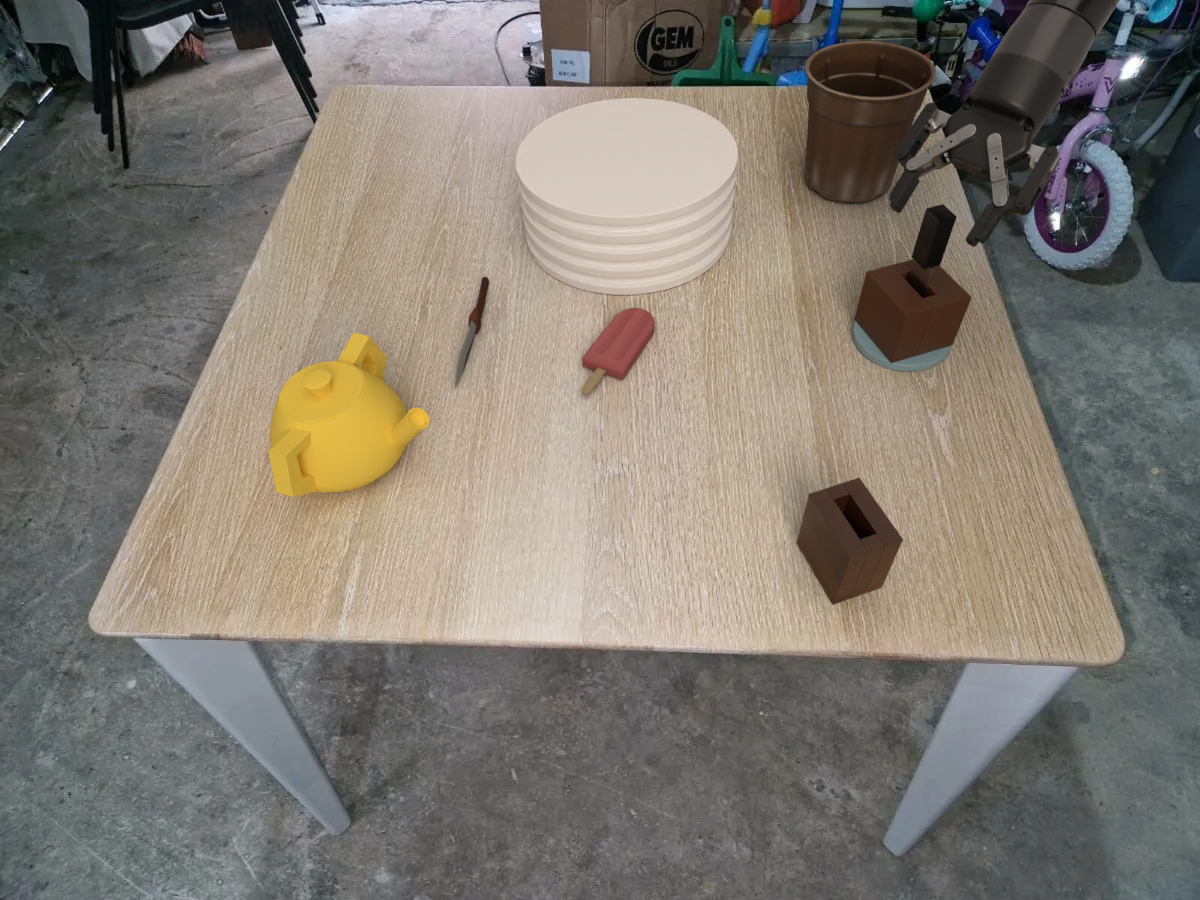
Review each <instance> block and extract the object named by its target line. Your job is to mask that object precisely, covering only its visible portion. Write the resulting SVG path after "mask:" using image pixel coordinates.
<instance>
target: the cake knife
mask: <svg viewBox="0 0 1200 900" xmlns="http://www.w3.org/2000/svg"><path fill="white" fill-rule="evenodd" d="M922 217H923V218H922V220H921V224H920V227H919V230H918V233H917V237H916V241H915V242H914V243H915V244H914V246H913V250H912V253H911V258H912V259H914V263H913V266H912V270H911V273H910V276H909V279H908V283H909V284H910V285H911V286H912V287H913V288H914V289H915V290H916V292H917V293H918V294H919V295H920V296H921V297H922V298H925V297H926V294H927V291H928V288H929V285H930V282H931V279H932V276H933V273H934V270H935V269H934V268H933V267H935V266H939V265H940V266H941V264H942V261H943V259H944V255H945V253H946V250H947V247H948V244H949V241H950V237H951V234H952V232H953V229H954V227H955V223H956V221H957V215H956V214H955V213H954V212H953V211H951V210H950V209H949V208H948V207H947V206H946V205H945V204H943V203H942V204H937V205H934V206H930V207H926V208H925V211H924V214H923V216H922Z"/></svg>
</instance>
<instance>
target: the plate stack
mask: <svg viewBox="0 0 1200 900" xmlns="http://www.w3.org/2000/svg"><path fill="white" fill-rule="evenodd" d="M738 159H739V150H738V144H737V142H736V140H735V138H734V136H733V134H732V133H731V131H730V130H729V129H728V128H727V127H726V125H724V124H723V123H722V122H721V121H719V120H718V119H717V118H715V117H714V116H712V115H710V114H708V113H707V112H705V111H703V110H700V109H698V108H696V107H692V106H689V105H687V104H684V103H679V102H676V101H671V100H666V99H665V100H664V99H657V98H646V97H626V98H625V97H623V98H611V99H603V100H596V101H592V102H587V103H584V104H580V105H577V106H573V107H570V108H568V109H565V110H562V111H560V112H557V113H556V114H553V115H552V116H550V117H548V118H546V119H544V120H543V121H541V122H540V123H539V124H537V125H535V126H534V127H533V128H532V129H531V130H530V131H529V132H528V133H527V134H526V135H525V136H524V137H523V139H522V140H521V142H520V144H519V146H518V148H517V151H516V154H515V171H516V176H517V185H518V191H519V197H520V205H521V211H522V218H523V219H522V220H523V226H524V230H525V231H524V232H525V239H526V245H527V250H528V252H529V254H530V256H531V257H532V259H533V260H534V262H535V263H536V264H537V265H538V266H539V267H540V269H541V270H543V271H544V272H545V273H546V274H548V275H549V276H550V277H552V278H554V279H555V280H557V281H558V282H561V283H563V284H565V285H567V286H570V287H573V288H575V289H579V290H582V291H586V292H591V293H595V294H603V295H612V296H613V295H614V296H630V295H631V296H633V295H634V296H635V295H647V294H652V293H656V292H662V291H666V290H669V289H673V288H677V287H679V286H682V285H683V284H687V283H688V282H691V281H692V280H695V279H697V278H699V277H700V276H702V275H703V274H705V273H706V272H707V271H709V270H710V269H712V267H714V266H715V265H716V264H717V263H718V262H719V261H720V259H721V258H722V257H723V256H724V254H725V252H726V250H727V249H728V246H729V244H730V241H731V236H732V225H733V215H734V203H735V194H736V190H735V188H736V181H737V168H738V162H739V160H738Z"/></svg>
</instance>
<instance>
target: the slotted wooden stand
mask: <svg viewBox="0 0 1200 900" xmlns="http://www.w3.org/2000/svg"><path fill="white" fill-rule="evenodd" d="M913 263H914V259H913V258H912V259H908V260H905V261H901V262H897V263H893V264H890V265H886V266H883V267H879V268H875V269H872V270H868V271H866V272H865V276H864V280H863V283H862V287H861V291H860V295H859V299H858V301H857V302H858V303H857V306H856V311H855V314H854V318H853V320H854V322H853V326H852V330H851V337H852V338H851V339H852V341H853V344H854V345H855V348H856V349H857V351H858V352H859V353H860V354H861V355H862V356H863V357H865V358H866V359H867V360H869V361H870V362H871V363H873V364H876V365H878V366H880V367H882V368H886V369H888V370H893V371H896V372H897V371H898V372H910V373H911V372H923V371H926V370H929V369H932V368H934V367H936V366H938V365H939V364H941V363H942V362H943V361H944V360H945V359H946V358H947V357H948V355H949V352H950V350H951V347H952V346H953V345H954V343H955V340H956V339H957V336H958V333H959V330H960V328H961V325H962V324H963V323H962V322H963V320H964V318H965V316H966V313H967V310H968V308H969V305H970V303H971V300H972V296H971V294H969V293H968V292H967V291H966V290H965V289H964V288H963V287H962V286H961V285H960V284H959V283H958V282H957V281H956V280H955V279H954V278H953V277H952V276H951V275H950V274H949V273H948V272H947V271H946V270H945V269H944V268H943V267H942V266H941V264H940V265H939V266H935V267H933V268H934V269H935V270H934V273H933V276H932V279H931V282H930V285H929V288H928V291H927V294H926V297H925V298H922V297H921V296H920V295H919V294H918V293H917V292H916V290H915V289H914V288H913V287H912V286H911V285H910V284H909V283H908V279H909V276H910V273H911V270H912V266H913Z"/></svg>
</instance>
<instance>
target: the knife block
mask: <svg viewBox="0 0 1200 900" xmlns="http://www.w3.org/2000/svg"><path fill="white" fill-rule="evenodd" d="M903 540H904V539H903V537H902V535H901V534H900V533H899V531H898V530H897V529H896V527H895V526H894V524H893V523H892V521H891V520H890V519H889V518H888V516H887V514H886V513H885V511H884V510H883V509H882V508H881V505H879V503H878V502H877V500H876V499H875V498H874V496H873V495H872V493H871V492H870V490H869V489H868V487H867V486H866V485H865V483H864V482H863V480H862V479H861V478H860V477H857V478H854V479H850V480H847V481H844V482H841V483H837V484H835V485H832V486H828V487H826V488H823V489H819V490H815V491H813V492H809V493H808V496H807V500H806V503H805V507H804V511H803V515H802V520H801V523H800V527H799V531H798V535H797V538H796V542H795V545H796V546H797V547H798V549H799V551H800V552H801V554H802V556H803V557H804V559H805V560H806V562H807V564H808V566H809V567H810V569H811V571H812V572H813V574H814V575H815V577H816V579H817V580H818V582H819V584H820V586H821V587H822V589H823V591H824V592H825V594H826V596H827V597H828V599H829V601H830V602H831V604H832V605H836V604H839V603H841V602H844V601H845V602H846V601H847V600H851V599H853V598H856V597H859V596H861V595H865V594H867V593H871V592H873V591H876V590H879V589H882V588H883V585H884V584H885V581H886V579H887V577H888V574H889V572H890V570H891V568H892V565H893V563H894V562H895V559H896V557H897V555H898V552H899V550H900V548H901V545H902V543H903Z"/></svg>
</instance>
